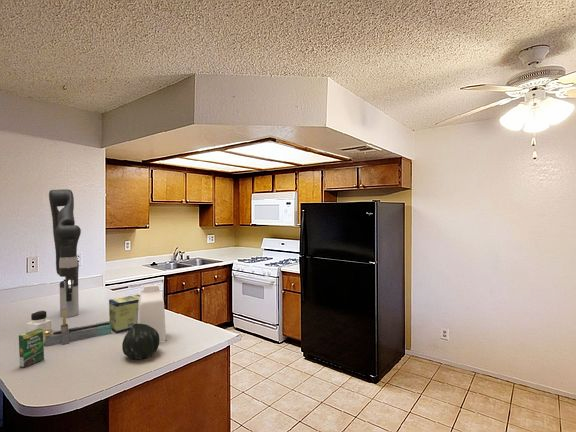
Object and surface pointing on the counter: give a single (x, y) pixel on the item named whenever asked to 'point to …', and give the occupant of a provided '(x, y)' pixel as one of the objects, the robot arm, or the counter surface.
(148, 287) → the milk
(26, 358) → the coffee box
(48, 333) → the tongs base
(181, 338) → the counter surface
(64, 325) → the lock pin
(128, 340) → the squash
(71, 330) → the tong arm
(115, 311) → the protein box
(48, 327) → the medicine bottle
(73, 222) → the robot arm
